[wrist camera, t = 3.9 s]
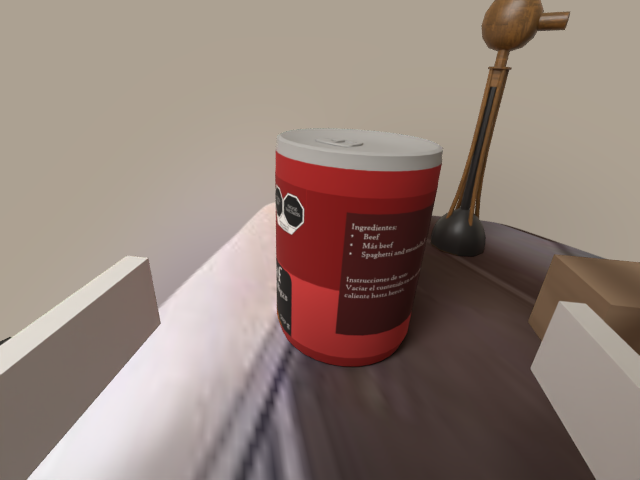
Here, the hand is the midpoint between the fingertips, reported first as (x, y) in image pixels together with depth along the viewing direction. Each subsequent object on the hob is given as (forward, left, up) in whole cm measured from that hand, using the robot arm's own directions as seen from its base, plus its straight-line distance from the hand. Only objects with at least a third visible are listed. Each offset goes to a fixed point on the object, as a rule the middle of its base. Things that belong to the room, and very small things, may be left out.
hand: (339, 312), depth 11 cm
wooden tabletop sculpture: (-1, -23, -7) cm, 24 cm away
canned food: (+3, -7, -7) cm, 10 cm away
